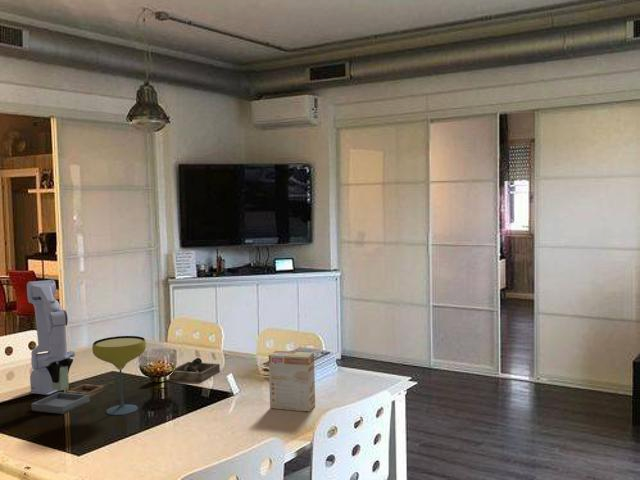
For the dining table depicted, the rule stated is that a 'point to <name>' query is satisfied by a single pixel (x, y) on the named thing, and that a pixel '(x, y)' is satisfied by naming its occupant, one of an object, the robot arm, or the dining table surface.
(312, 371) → the coffeecake box
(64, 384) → the green elongated block
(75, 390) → the square brown frame
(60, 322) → the robot arm
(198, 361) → the eagle figurine
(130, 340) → the cocktail glass
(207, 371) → the square serving dish
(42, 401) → the tray
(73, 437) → the dining table surface
